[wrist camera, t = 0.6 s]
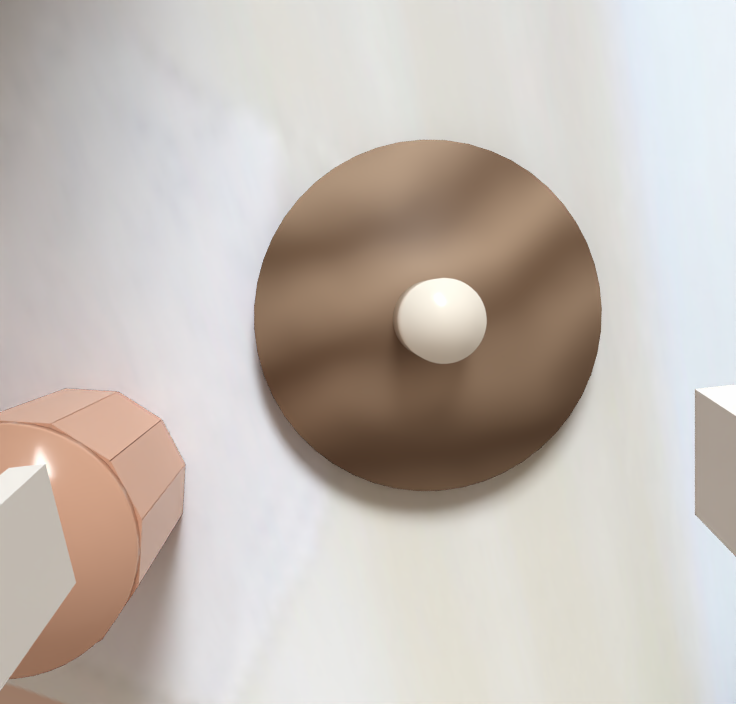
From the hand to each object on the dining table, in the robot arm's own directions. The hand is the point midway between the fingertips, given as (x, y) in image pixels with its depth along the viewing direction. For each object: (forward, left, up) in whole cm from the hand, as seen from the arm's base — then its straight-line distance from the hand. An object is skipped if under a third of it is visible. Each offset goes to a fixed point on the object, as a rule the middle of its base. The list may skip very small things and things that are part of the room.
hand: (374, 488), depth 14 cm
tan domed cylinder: (0, -16, -27) cm, 31 cm away
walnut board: (0, +6, -27) cm, 28 cm away
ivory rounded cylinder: (0, +6, -25) cm, 26 cm away
